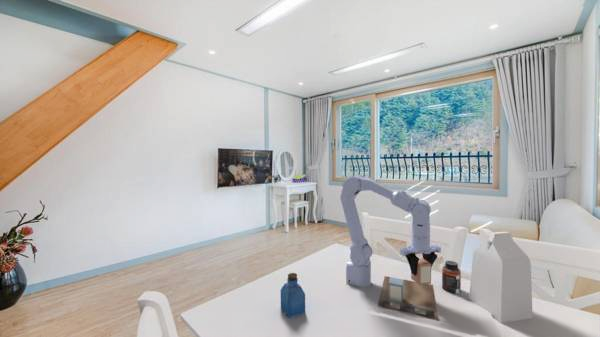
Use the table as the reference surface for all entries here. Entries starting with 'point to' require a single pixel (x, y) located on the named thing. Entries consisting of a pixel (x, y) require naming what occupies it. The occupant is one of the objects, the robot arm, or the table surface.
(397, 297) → the slate carton
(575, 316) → the table surface
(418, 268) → the peach carton
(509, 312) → the milk
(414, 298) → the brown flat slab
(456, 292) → the supplement bottle
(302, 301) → the perfume bottle
